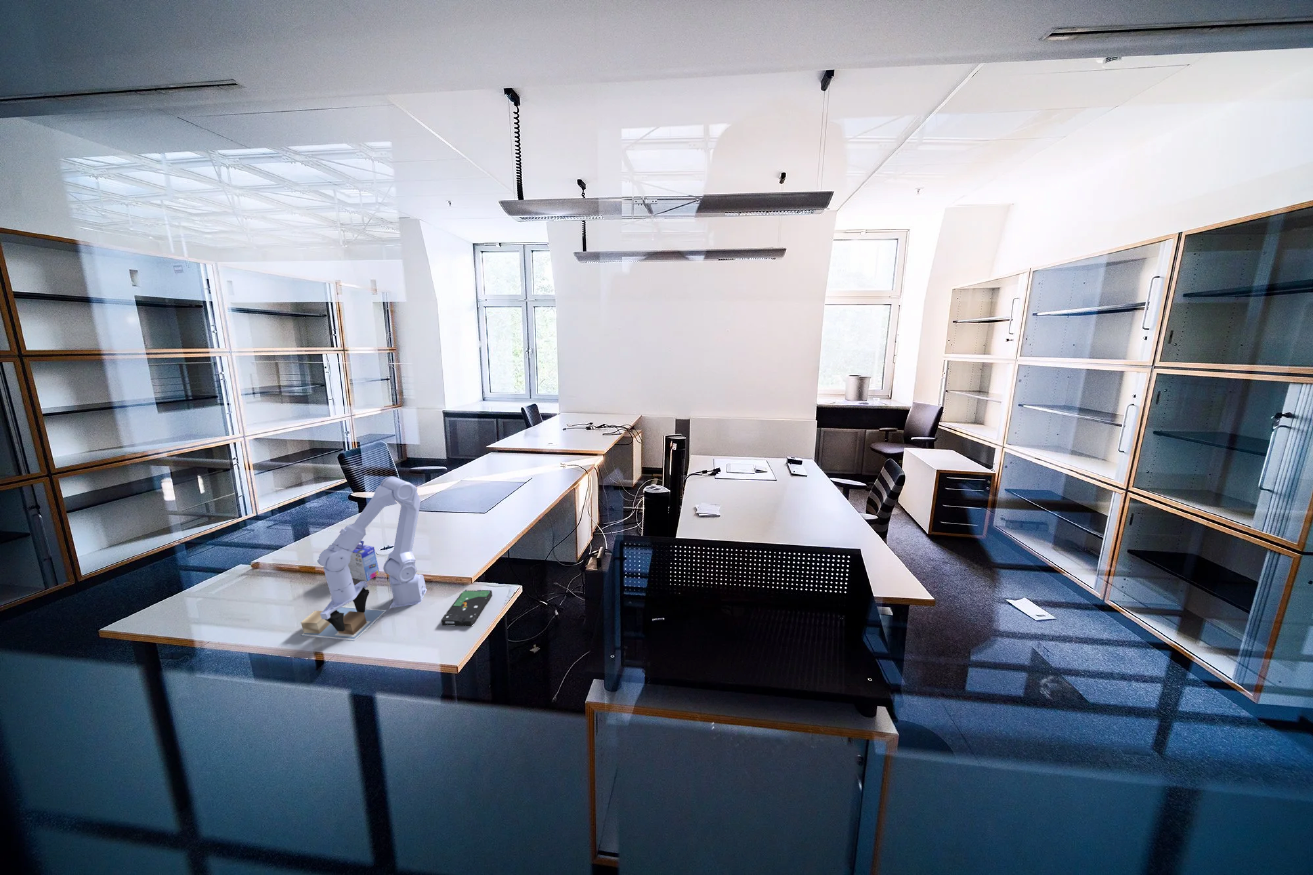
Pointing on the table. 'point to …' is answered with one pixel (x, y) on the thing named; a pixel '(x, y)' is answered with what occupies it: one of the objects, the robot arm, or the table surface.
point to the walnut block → (353, 622)
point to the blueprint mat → (332, 633)
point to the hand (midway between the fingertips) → (351, 621)
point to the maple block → (314, 623)
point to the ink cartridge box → (363, 562)
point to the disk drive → (467, 608)
